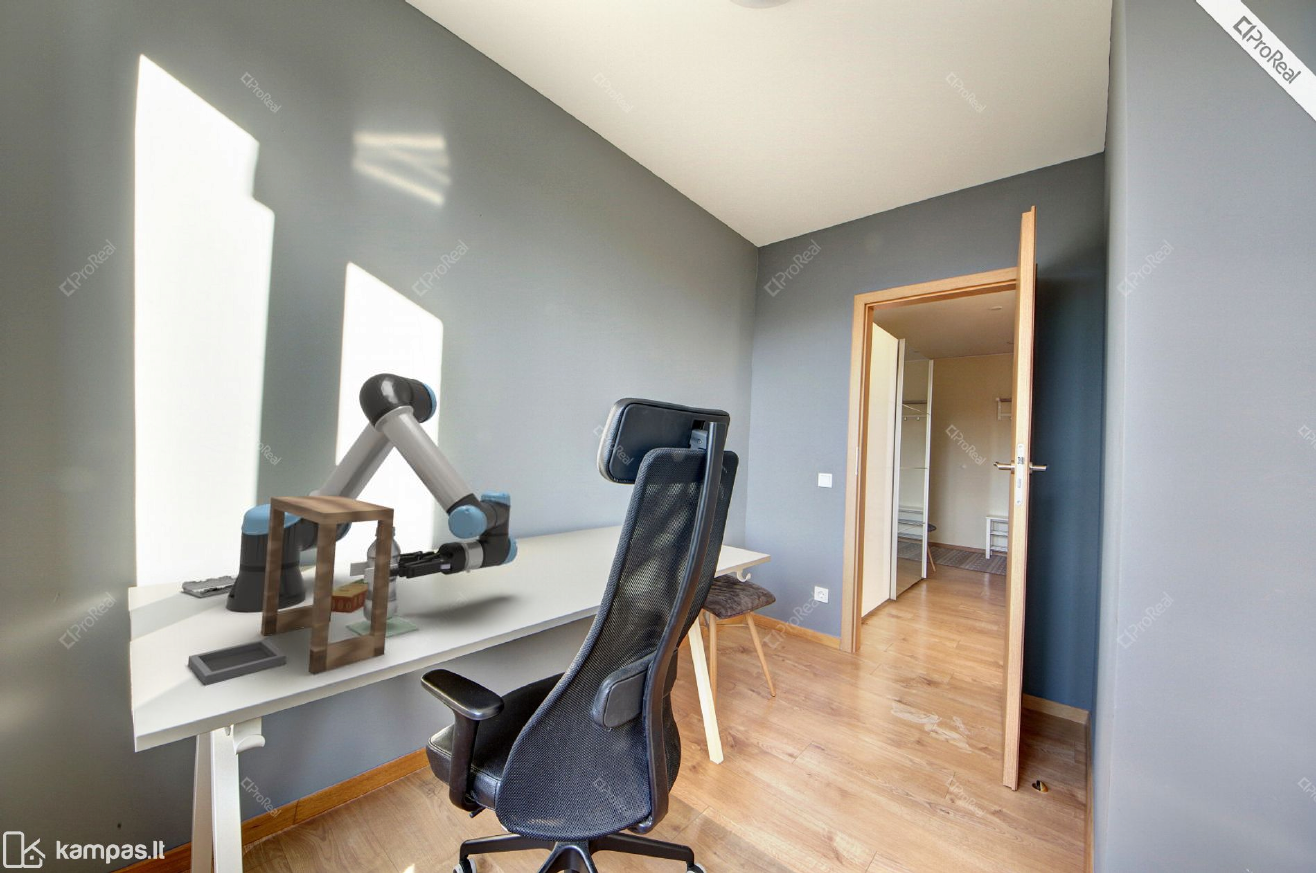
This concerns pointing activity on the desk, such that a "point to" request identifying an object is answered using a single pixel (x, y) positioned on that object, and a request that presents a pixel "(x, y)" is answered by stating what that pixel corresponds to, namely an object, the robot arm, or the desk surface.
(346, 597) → the carton
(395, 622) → the pad
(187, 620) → the desk surface
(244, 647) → the grey shallow rectangular tray
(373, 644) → the wooden stool
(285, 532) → the robot arm
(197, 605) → the desk surface
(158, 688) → the desk surface
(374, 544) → the plastic bottle
